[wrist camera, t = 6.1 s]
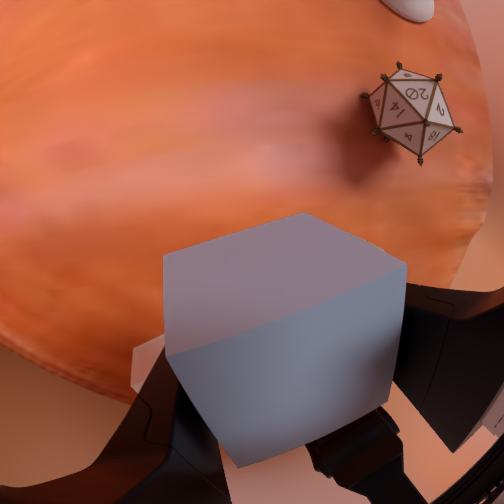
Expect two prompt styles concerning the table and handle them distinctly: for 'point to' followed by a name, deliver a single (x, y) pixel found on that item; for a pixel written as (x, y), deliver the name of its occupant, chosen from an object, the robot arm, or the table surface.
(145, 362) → the cream cube
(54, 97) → the table surface
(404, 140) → the game die
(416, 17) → the candlestick
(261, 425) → the slate blue cube
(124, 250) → the table surface
